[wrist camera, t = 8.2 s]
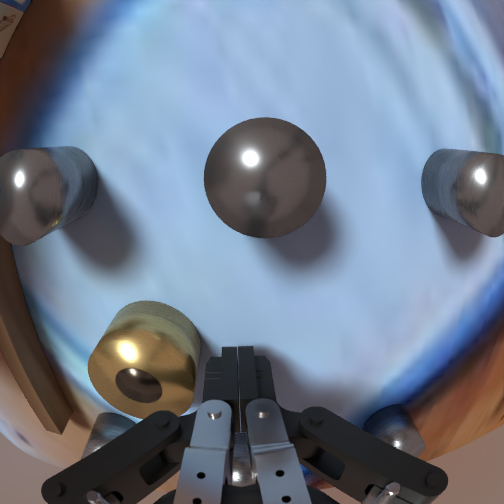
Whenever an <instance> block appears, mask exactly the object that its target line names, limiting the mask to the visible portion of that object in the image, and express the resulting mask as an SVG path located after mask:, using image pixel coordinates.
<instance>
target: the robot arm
mask: <svg viewBox="0 0 504 504" xmlns="http://www.w3.org/2000/svg"><path fill="white" fill-rule="evenodd" d="M238 358H239V381H238V359H237V347H222V356H221V357H211V358H210V360H209V361H208V362H207V364H206V373H205V381H204V391H203V401H202V404H201V405H200V406H199V408H198V410H197V411H195V412H194V413H191V414H188V415H184V416H179V417H178V416H177V415H176V414H175V413H173V412H171V411H166V410H160V411H156V412H154V413H152V414H150V415H149V416H148V417H146V418H145V419H143V420H142V421H140V422H139V423H137V424H136V425H134V426H133V427H131V428H130V429H128V430H127V431H125V432H124V433H122V434H121V435H119V436H118V437H116V438H115V439H113V440H112V441H110V442H109V443H107V444H106V445H104V446H102V447H101V448H99V449H98V450H96V451H94V452H93V453H91V454H90V455H88V456H86V457H85V458H83V459H81V460H80V461H78V462H76V463H75V464H73V465H71V466H70V467H68V468H66V469H65V470H63V471H61V472H59V473H58V474H56V475H54V476H52V477H51V478H49V479H47V480H46V481H45V482H44V483H43V485H42V489H41V492H42V496H43V498H44V500H45V501H46V502H47V503H48V504H136V503H138V502H139V501H141V500H142V499H143V498H145V497H146V496H147V495H149V494H150V493H151V492H153V491H154V490H155V489H157V488H158V487H159V486H161V485H162V484H163V483H164V482H166V481H167V480H168V479H169V478H171V477H172V476H173V475H174V474H176V473H177V472H178V471H179V470H180V469H181V470H180V474H179V479H178V484H177V488H176V489H175V490H173V491H170V492H168V493H167V494H165V495H163V496H162V497H161V498H160V499H158V500H157V501H156V502H155V503H154V504H339V503H338V502H337V501H335V500H334V499H332V498H331V497H329V496H328V495H326V494H325V493H323V492H322V491H320V490H318V489H316V488H314V487H311V486H307V485H306V483H305V480H304V477H303V473H302V470H301V467H300V464H301V465H303V466H304V467H306V468H307V469H309V470H310V471H311V472H313V473H314V474H316V475H317V476H319V477H320V478H322V479H323V480H325V481H326V482H328V483H330V484H331V485H333V486H334V487H336V488H337V489H339V490H341V491H342V492H344V493H345V494H347V495H349V496H350V497H352V498H354V499H356V500H357V501H359V502H361V504H430V503H431V502H433V501H434V500H435V499H436V498H437V497H438V496H439V495H440V494H441V493H442V492H443V491H444V490H445V489H446V487H447V485H448V477H447V475H446V473H445V472H444V471H443V470H442V469H440V468H438V467H436V466H434V465H431V464H429V463H427V462H425V461H423V460H421V459H419V458H416V457H414V456H412V455H410V454H408V453H406V452H404V451H402V450H400V449H398V448H396V447H394V446H392V445H390V444H388V443H386V442H384V441H382V440H381V439H379V438H377V437H375V436H373V435H371V434H369V433H367V432H366V431H364V430H362V429H360V428H358V427H357V426H355V425H353V424H351V423H350V422H348V421H346V420H344V419H343V418H341V417H339V416H337V415H336V414H334V413H332V412H331V411H329V410H327V409H325V408H323V407H310V408H307V409H305V410H304V411H303V412H302V413H297V412H291V411H288V410H285V409H283V408H282V407H281V406H280V405H279V404H278V403H277V401H276V396H275V390H274V384H273V378H272V372H271V366H270V362H269V361H268V359H267V358H266V357H265V356H254V350H253V346H238ZM239 390H240V411H241V429H242V432H246V438H247V451H248V457H249V463H250V469H251V475H252V481H253V484H252V485H248V486H243V487H239V486H234V485H232V478H233V464H234V451H235V442H236V433H240V412H239Z"/></svg>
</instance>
